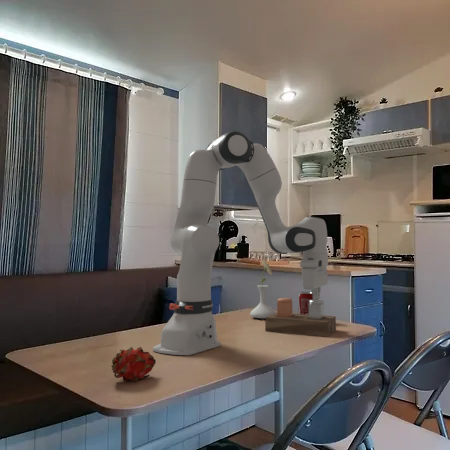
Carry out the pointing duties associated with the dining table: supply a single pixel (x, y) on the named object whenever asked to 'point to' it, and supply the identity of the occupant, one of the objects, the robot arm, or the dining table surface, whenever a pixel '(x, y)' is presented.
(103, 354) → the dining table surface
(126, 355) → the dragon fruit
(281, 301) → the terracotta plunger
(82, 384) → the dining table surface
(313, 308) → the metal plunger
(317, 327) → the walnut block
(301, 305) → the soda can
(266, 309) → the flower in vase
